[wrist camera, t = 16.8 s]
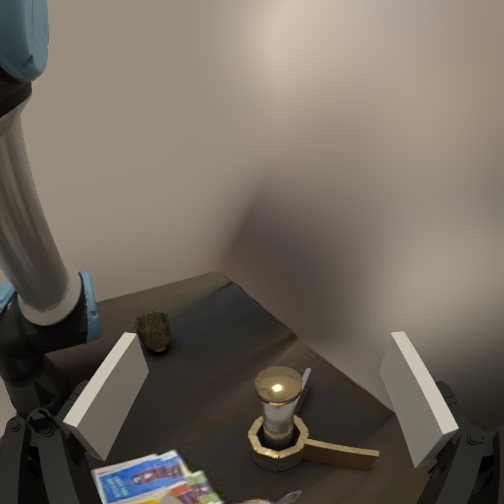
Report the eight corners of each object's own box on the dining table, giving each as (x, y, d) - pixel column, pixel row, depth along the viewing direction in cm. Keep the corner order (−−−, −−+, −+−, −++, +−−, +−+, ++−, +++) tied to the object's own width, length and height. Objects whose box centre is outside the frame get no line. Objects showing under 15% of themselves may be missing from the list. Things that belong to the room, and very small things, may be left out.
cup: (179, 357, 52) (170, 326, 49) (145, 364, 49) (133, 333, 46) (174, 336, 58) (166, 306, 55) (143, 343, 56) (133, 313, 53)
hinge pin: (268, 468, 28) (265, 405, 23) (256, 443, 33) (248, 373, 27) (300, 456, 30) (310, 389, 24) (286, 433, 34) (289, 361, 28)
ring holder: (280, 511, 21) (281, 503, 20) (232, 410, 39) (229, 392, 37) (371, 468, 25) (381, 453, 24) (307, 386, 43) (309, 366, 41)
